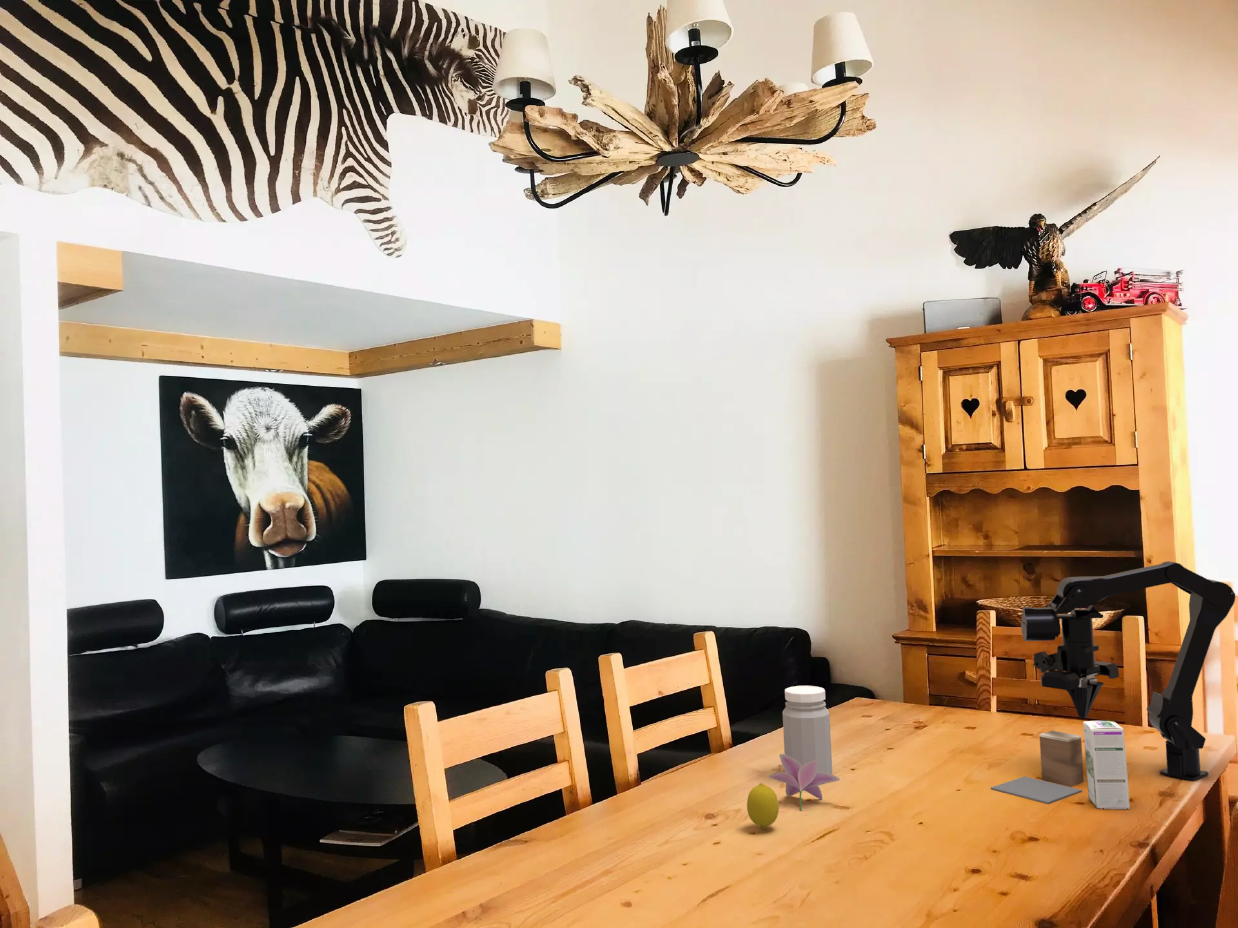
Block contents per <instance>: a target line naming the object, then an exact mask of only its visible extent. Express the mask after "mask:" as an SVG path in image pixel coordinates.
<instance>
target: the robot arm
mask: <svg viewBox="0 0 1238 928" xmlns="http://www.w3.org/2000/svg"><path fill="white" fill-rule="evenodd" d="M1166 584H1172V585H1173V586H1175V587H1177V588H1178V589H1180V590H1181V591H1183V592H1185V593H1187V594H1189V603H1188V609H1189V622H1188V625H1187V628H1186V631H1185V634H1184V637H1183V640H1182V643H1181V645H1180V649H1179V651H1178V654H1177V658H1176V661H1175V663H1174V666H1173V669H1172V672H1171V674H1170V678H1169V681H1168V684H1167V686H1166V688H1165V689H1164V690H1163V691H1162V692H1161V693H1158V692H1156V691H1153V692H1152V694H1151V701H1150V703H1149V706H1148V707H1147V708H1146V711H1147V712H1149V713H1148V720H1149V722H1150V725H1151V726H1152V727H1154V729H1155V730H1157V731H1158V732H1159V733H1160V735H1161V737H1162V738H1163V739H1165V751H1166V752H1165V753H1166V754H1165V755H1166V756H1165V758H1166V768H1164V769H1161V770H1159V774H1160V775H1164V776H1169V777H1174V778H1179V779H1184V780H1187V781H1188V780H1189V781H1195V780H1198V779H1201V778H1203V777H1207V776H1208V775H1209V772H1208V771H1207V770H1206V771H1205V770H1201V761H1200V760H1201V759H1200V758H1201V757H1200V749H1201V750H1202V749H1204V746H1205V742H1206V737H1205V736H1203V735H1202V734H1201V733H1200V732H1199V731H1198V730H1197V729H1195V728H1194V727H1193V726H1192V725H1193V717H1194V703H1193V696H1194V693H1195V689H1196V687H1197V684H1198V681H1199V678H1200V675H1201V671H1202V668H1203V667H1204V663H1205V661H1206V658H1207V654H1208V651H1209V648H1210V645H1211V643H1212V639H1213V636H1214V635H1215V634H1214V633H1215V631H1216V629H1217V627H1219V625H1221V623H1222V622H1223V621H1224V620H1225V619H1226V618H1227V616H1228V614H1229V613H1230V611H1231V609H1232V607H1233V606H1234V604H1235V601H1236V593H1235V592H1234V590H1233V588H1232V587H1231V586H1230V585H1229V584H1227V583H1225V582H1222V581H1218V580H1215V579H1209V578H1207V577H1204V576H1202V575H1200V574H1199V573H1196V572H1194V571H1192V570H1190V569H1188V568H1186V567H1185V566H1183V564H1181V563H1178V562H1176V561H1175V562H1174V561H1169V560H1168V561H1164V562H1162V563H1158V564H1155V565H1149V566H1145V567H1140V568H1136V569H1130V570H1126V571H1121V572H1117V573H1113V574H1112V573H1111V574H1107V575H1103V576H1101V575H1100V576H1098V575H1097V576H1094V575H1093V576H1070V577H1065V578H1063V579H1061V580H1060V582H1059V583H1058V585H1057V588H1056V595H1054V597H1053V599H1052V600H1051V601H1050V602H1049V604H1048V605H1047V607H1030V606H1026V607H1025V606H1024V607H1022V614H1021V615H1022V616H1021V622H1020V628H1021V629H1020V630H1021V635H1022V639H1023V641H1024V642H1040V641H1041V642H1050V641H1051V642H1052V641H1055V640H1056V638H1059V636H1062V637H1061V638H1062V644H1059V645H1057V647H1056V648H1057V652H1054V653H1050V654H1048V653H1047V652H1046V651H1045V650H1043V651H1039V652H1036V653H1034V654H1033V666H1034V668H1036V669H1037V670H1040V673H1041V676H1040V686H1041V687H1043V688H1050V689H1056V690H1057V689H1058V690H1063V691H1066V692H1067V693H1068V695H1069V696H1070V698H1071V701H1072V702H1073V705H1074V708H1075V710H1076V712H1077V715H1078V718H1080V719H1086V718H1087V717H1088V716H1089V713H1090V712H1091V709H1092V707H1093V704H1094V702H1095V700H1096V699H1097V696H1098V694H1099V692H1100V690H1101V688H1102V687H1103V686H1104V685H1105V683H1104V682H1101V681H1098V678H1097V676H1107V677H1108V679H1110V680H1111V679H1112V680H1113V679H1116V678H1120V674H1119V673H1120V671H1119V670H1120V669H1119V667H1118V666H1117V665H1116V664H1115V663H1114V662H1108V661H1107V662H1105V661H1100V660H1096V659H1095V656H1096V655H1095V652H1097V651H1099V649H1100V648H1099V647H1100V646H1099V645H1098V644H1095V643H1094V642H1095V640H1094V628H1093V627H1094V626H1093V625H1094V624H1093V619H1103V618H1104V614H1103V613H1101V612H1100V611H1098V610H1097V608H1096V607H1095V606H1094V604H1096V603H1099V602H1101V601H1103V600H1105V599H1106V598H1109V597H1111V596H1114V595H1118V594H1124V593H1129V592H1133V591H1138V590H1143V589H1148V588H1153V587H1157V586H1162V585H1166ZM1086 607H1087V608H1086ZM1085 608H1086V609H1085ZM1060 622H1061V624H1060Z"/></svg>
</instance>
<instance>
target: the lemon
mask: <svg viewBox="0 0 1238 928" xmlns="http://www.w3.org/2000/svg"><path fill="white" fill-rule="evenodd" d="M779 809H780V805H779V800H778V797H777V793H776V792H775V790H774V789H772V787H770V786H769V785H766V784H764V783H763V782H760V783H759V784H757V785H756V786H754V787H752V789H751V790H750V791H749V794H748V795H747V801H746V810H747V814H748V817H749V818H750V820H751V822H753V823H754V824H755V825H756V826H759V827H760V829H761V830H766V829H767V828H768V827H770V826H771V825H772V824H774V822H776V820H777V818H778V815H779V811H780V810H779Z"/></svg>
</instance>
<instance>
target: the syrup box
mask: <svg viewBox="0 0 1238 928" xmlns="http://www.w3.org/2000/svg"><path fill="white" fill-rule="evenodd" d="M1082 725H1083V737H1084V753H1085V765H1086V769H1085V770H1086V779H1087V781H1086V783H1087V794H1088V800H1090V801H1091V803H1092V804H1093V805H1094V807H1096V809H1103V808H1104V809H1103V810H1130V807H1131V806H1130V805H1131V804H1130V791H1129V776H1128V765H1127V754H1126V753H1127V752H1126V743H1125V742H1126V741H1125V731H1124V728H1123V727H1122V726H1121V725H1119V724H1118V723H1117V722H1115V721H1114V720H1112V721H1111V720H1089V721H1088V720H1087V721H1086V720H1085V721H1083V724H1082ZM1127 808H1128V809H1127Z"/></svg>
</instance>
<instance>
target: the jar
mask: <svg viewBox="0 0 1238 928" xmlns="http://www.w3.org/2000/svg"><path fill="white" fill-rule="evenodd" d="M784 698H785V700H786V702H784V704H785V707H784V709H783V710H782V726H783V727H782V729H783V731H782V733H783V747H784V749H783V750H784V753H783V754H785V755H787V756H789V757H792V758H793V759H795V760H797V761H798V762H800V763H801V764H802V766H803V765H804V764H806V763H808V762H811V761H817V763H818V768H817V771H822V772H826V773H829V774H832V775H833V760H832V759H833V758H832V757H833V756H832V737H831V719H830V717H831V715H830V711H829V710H828V709H827V707H826V706H827V704H826V701H824V700H826V690H825V688H823V687H820V686H815V685H796V686H790V687H787V688H785V689H784Z"/></svg>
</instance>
